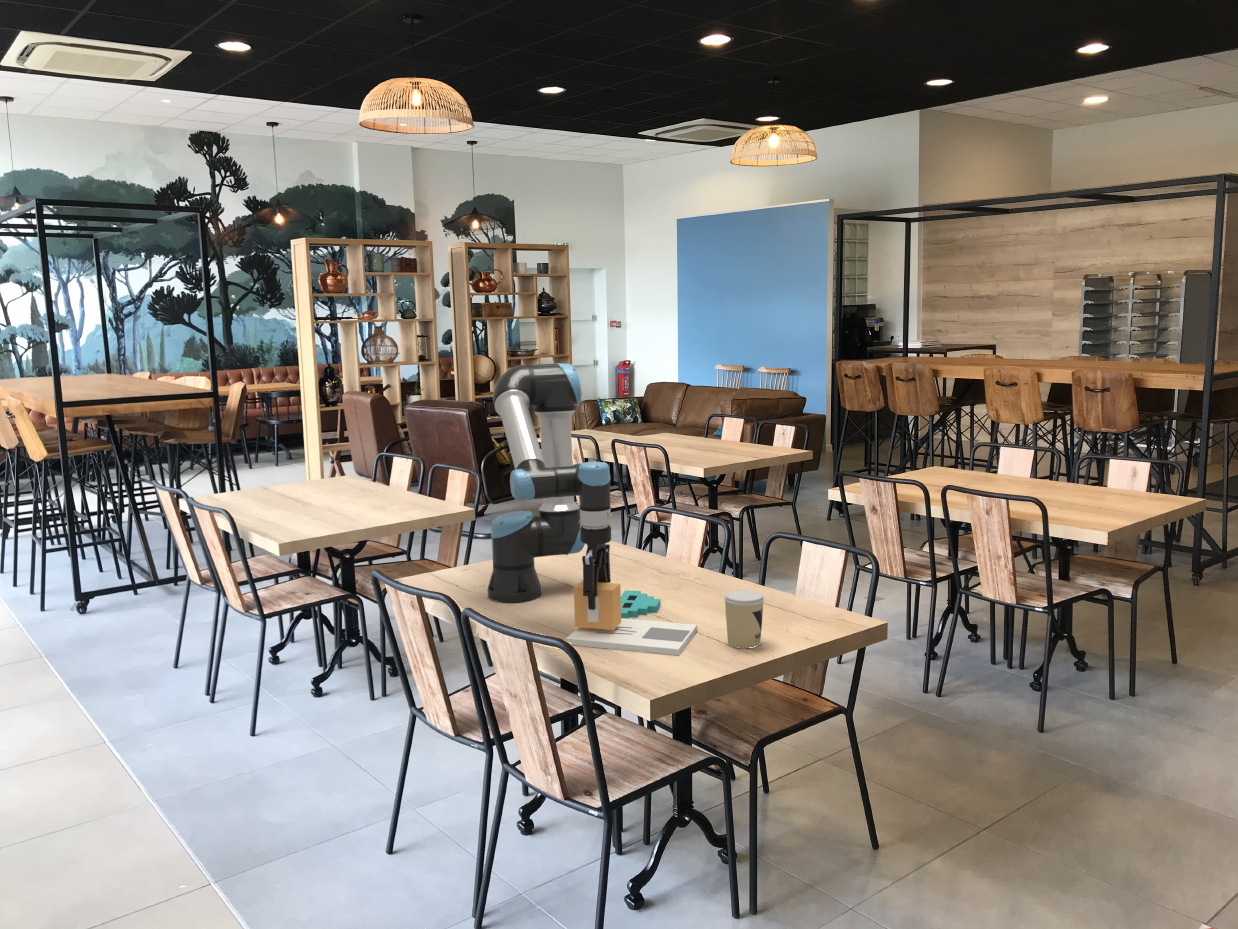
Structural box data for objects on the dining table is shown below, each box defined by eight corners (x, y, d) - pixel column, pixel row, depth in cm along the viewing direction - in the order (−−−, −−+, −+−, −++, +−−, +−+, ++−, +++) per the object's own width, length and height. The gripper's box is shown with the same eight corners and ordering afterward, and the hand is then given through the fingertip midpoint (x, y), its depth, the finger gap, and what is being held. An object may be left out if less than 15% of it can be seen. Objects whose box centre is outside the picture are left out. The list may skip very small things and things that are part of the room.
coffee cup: (763, 651, 227) (763, 601, 226) (723, 649, 229) (723, 600, 227) (764, 637, 237) (764, 590, 235) (725, 636, 238) (725, 588, 236)
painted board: (566, 644, 234) (566, 638, 234) (591, 621, 251) (591, 615, 251) (678, 655, 226) (678, 649, 225) (697, 630, 243) (697, 624, 242)
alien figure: (577, 619, 255) (652, 622, 251) (576, 611, 254) (652, 614, 250) (594, 596, 274) (664, 599, 270) (593, 589, 274) (664, 591, 270)
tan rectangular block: (575, 626, 240) (573, 587, 238) (583, 619, 245) (582, 581, 244) (613, 630, 236) (612, 590, 235) (621, 622, 242) (620, 583, 240)
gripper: (596, 535, 227) (599, 630, 230) (622, 518, 245) (624, 607, 248) (566, 533, 229) (569, 628, 233) (594, 517, 247) (596, 604, 251)
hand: (598, 617), depth 240 cm, fingers closed on tan rectangular block, 6 cm apart
